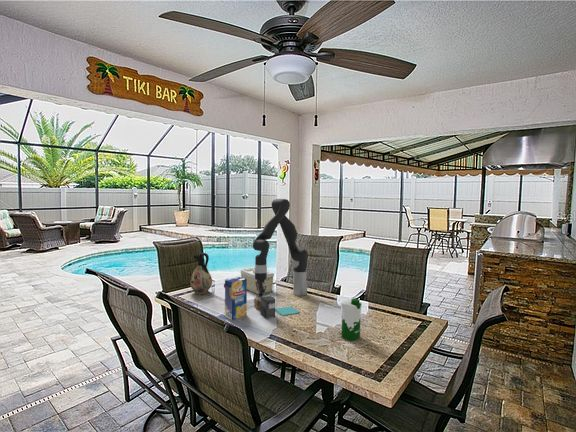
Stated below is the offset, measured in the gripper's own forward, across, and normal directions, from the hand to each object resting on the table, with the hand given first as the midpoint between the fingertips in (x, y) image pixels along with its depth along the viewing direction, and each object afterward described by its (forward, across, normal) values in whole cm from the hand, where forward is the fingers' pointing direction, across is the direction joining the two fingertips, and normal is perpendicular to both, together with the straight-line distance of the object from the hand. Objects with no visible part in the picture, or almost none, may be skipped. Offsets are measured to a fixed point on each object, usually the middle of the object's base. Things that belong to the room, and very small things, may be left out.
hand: (260, 298), depth 206 cm
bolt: (0, -10, 0) cm, 10 cm away
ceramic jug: (+7, +50, +26) cm, 57 cm away
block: (+7, +3, 0) cm, 8 cm away
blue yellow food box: (+7, -4, +17) cm, 19 cm away
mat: (+7, -10, -14) cm, 18 cm away
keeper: (+7, -11, 0) cm, 13 cm away
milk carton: (+7, -56, -27) cm, 63 cm away
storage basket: (+8, +42, -14) cm, 44 cm away
